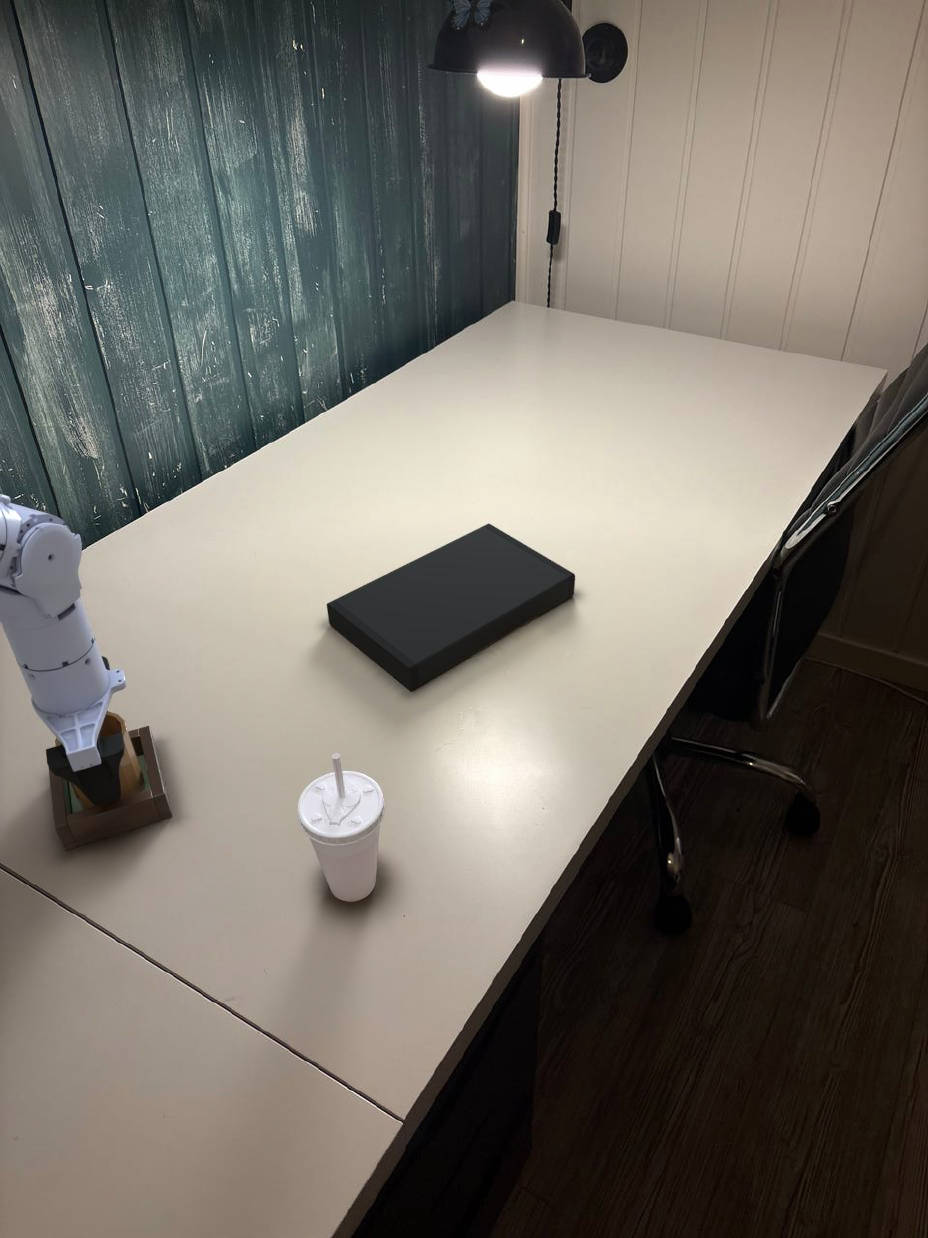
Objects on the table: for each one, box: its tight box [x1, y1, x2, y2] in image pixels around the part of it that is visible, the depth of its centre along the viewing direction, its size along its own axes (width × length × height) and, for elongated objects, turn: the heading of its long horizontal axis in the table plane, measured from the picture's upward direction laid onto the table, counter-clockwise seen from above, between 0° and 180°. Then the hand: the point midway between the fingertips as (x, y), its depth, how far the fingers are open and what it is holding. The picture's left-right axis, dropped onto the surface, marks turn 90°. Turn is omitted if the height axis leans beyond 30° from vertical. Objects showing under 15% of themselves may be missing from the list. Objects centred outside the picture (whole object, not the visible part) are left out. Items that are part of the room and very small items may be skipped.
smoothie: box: [297, 752, 386, 903], centre depth 69 cm, size 6×6×14 cm
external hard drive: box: [326, 523, 576, 692], centre depth 99 cm, size 14×23×3 cm, turn 131°
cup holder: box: [47, 725, 173, 852], centre depth 79 cm, size 9×9×3 cm
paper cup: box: [54, 710, 146, 810], centre depth 78 cm, size 6×6×7 cm
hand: (102, 768), depth 78 cm, fingers open, 7 cm apart
